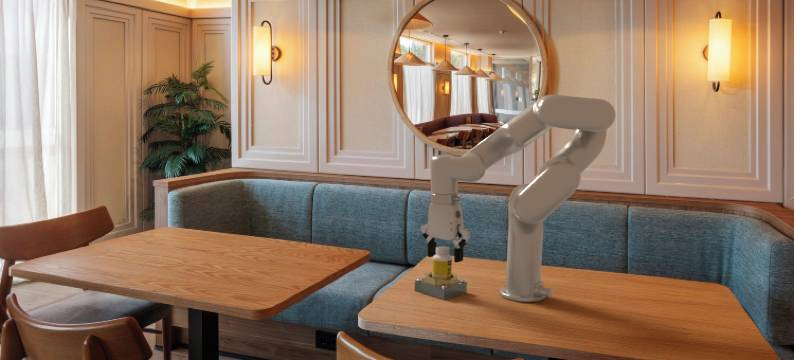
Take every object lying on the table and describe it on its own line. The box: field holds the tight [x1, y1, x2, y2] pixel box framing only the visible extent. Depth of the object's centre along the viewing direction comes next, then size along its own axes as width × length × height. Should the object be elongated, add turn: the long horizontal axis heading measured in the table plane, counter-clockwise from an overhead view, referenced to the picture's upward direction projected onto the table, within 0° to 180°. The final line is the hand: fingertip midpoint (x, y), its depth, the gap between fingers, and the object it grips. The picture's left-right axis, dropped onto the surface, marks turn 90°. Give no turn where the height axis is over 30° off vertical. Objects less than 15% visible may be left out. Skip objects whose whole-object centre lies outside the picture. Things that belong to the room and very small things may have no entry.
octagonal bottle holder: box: [414, 271, 468, 301], centre depth 169 cm, size 11×10×5 cm
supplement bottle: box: [431, 245, 453, 279], centre depth 169 cm, size 5×5×10 cm
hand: (445, 258), depth 169 cm, fingers open, 9 cm apart
